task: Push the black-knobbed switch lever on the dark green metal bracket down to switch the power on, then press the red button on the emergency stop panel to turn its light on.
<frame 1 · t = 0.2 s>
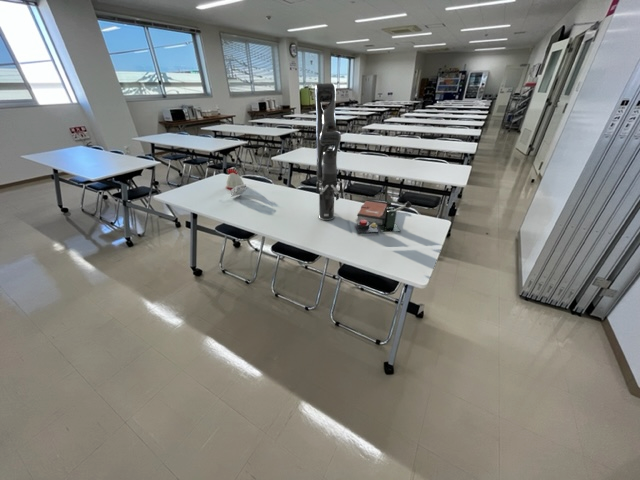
hand: (329, 200, 148), 17 cm above the table, tool pointing down, fingers open, 8 cm apart
kitchen timer: (235, 187, 219), on the table
switch lever: (399, 208, 148), point 13 cm above the table, hinge at 25.0°
lamp lens: (373, 226, 149), resting on emergency stop panel
button: (363, 222, 153), point 4 cm above the table, slide at 0.1 cm
book: (373, 215, 172), on the table
emergency stop panel: (366, 230, 153), on the table
switch bracket: (388, 229, 155), on the table
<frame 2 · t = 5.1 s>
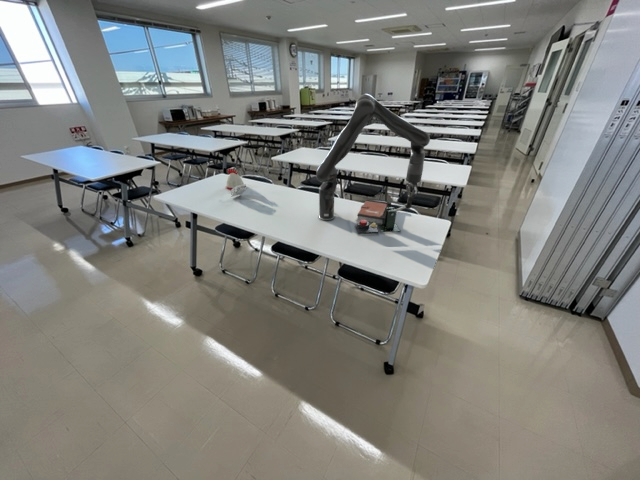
hand: (409, 202, 147), 16 cm above the table, tool pointing down, fingers closed
switch lever: (399, 208, 148), point 13 cm above the table, hinge at 21.6°, touching gripper
everything else where it was.
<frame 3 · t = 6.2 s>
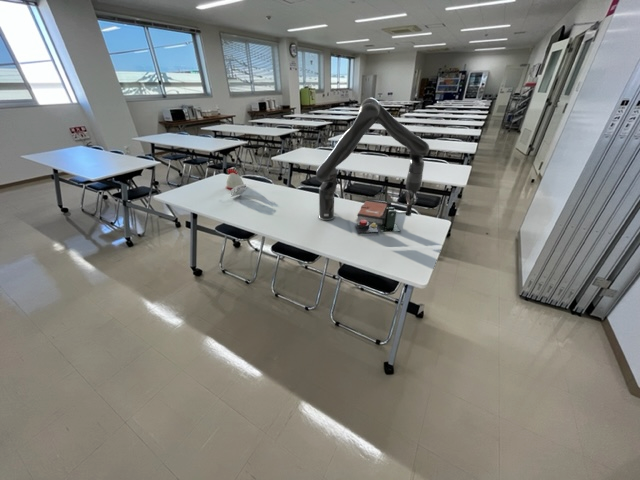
hand: (408, 210, 149), 12 cm above the table, tool pointing down, fingers closed
switch lever: (399, 212, 149), point 11 cm above the table, hinge at -4.1°, touching gripper
everything else where it was.
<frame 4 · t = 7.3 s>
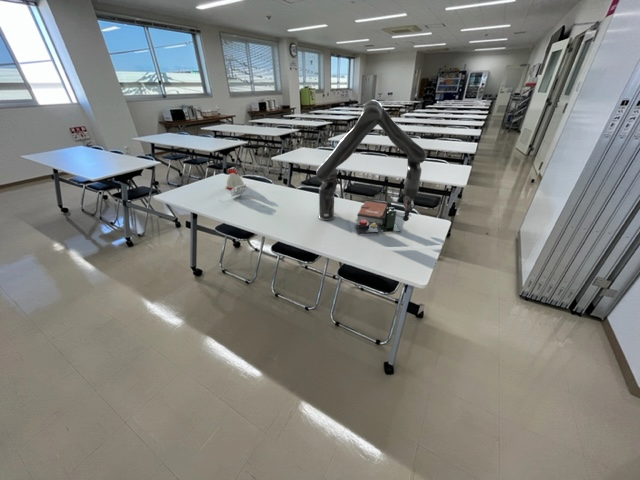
hand: (406, 215, 151), 9 cm above the table, tool pointing down, fingers closed
switch lever: (398, 215, 150), point 9 cm above the table, hinge at -23.8°, touching gripper
everything else where it was.
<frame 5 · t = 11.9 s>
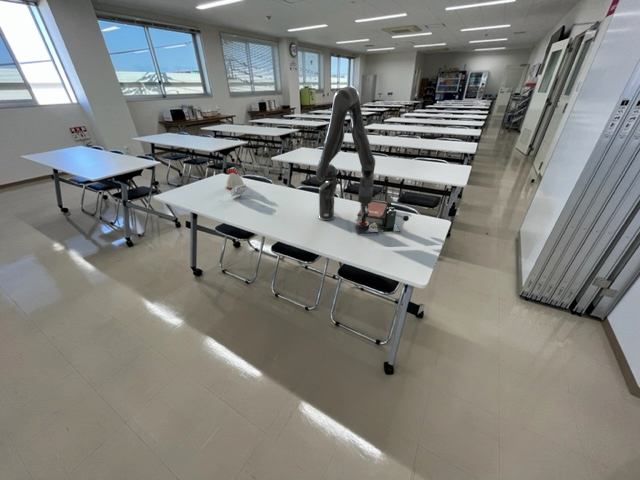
hand: (363, 222, 152), 5 cm above the table, tool pointing down, fingers closed
switch lever: (398, 215, 150), point 9 cm above the table, hinge at -23.9°
button: (363, 223, 153), point 4 cm above the table, slide at -0.4 cm, touching gripper
everything else where it was.
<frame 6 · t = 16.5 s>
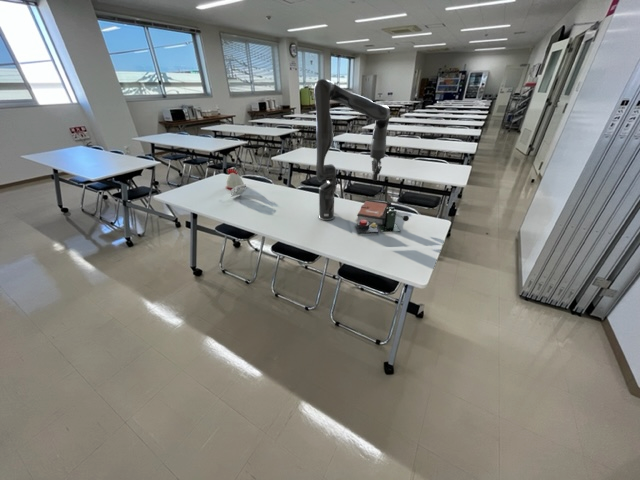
hand: (374, 180, 147), 27 cm above the table, tool pointing down, fingers closed
button: (363, 222, 153), point 4 cm above the table, slide at 0.1 cm
everything else where it was.
at the end: switch lever at -24° (first picture: +25°); button pushed in 1.2 cm at the most during the clip, back to where it started at the end; button slide at 0.1 cm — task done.
